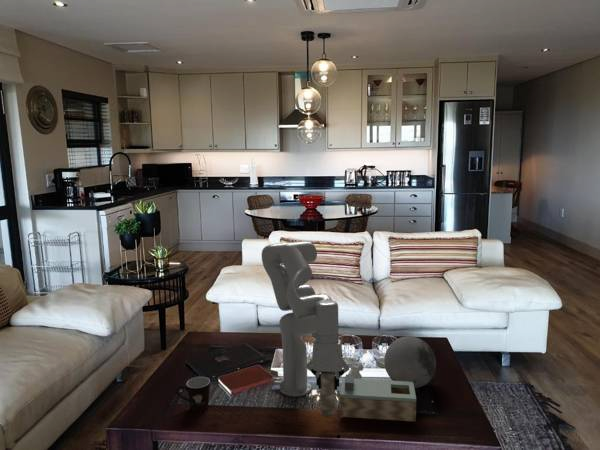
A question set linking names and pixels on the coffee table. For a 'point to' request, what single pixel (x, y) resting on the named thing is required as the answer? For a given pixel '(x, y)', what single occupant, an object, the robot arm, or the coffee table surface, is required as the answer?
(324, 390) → the beige tall cylinder
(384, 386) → the lid
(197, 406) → the coffee mug
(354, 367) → the duck figurine
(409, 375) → the moon model
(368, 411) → the wooden box
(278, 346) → the coffee table surface
